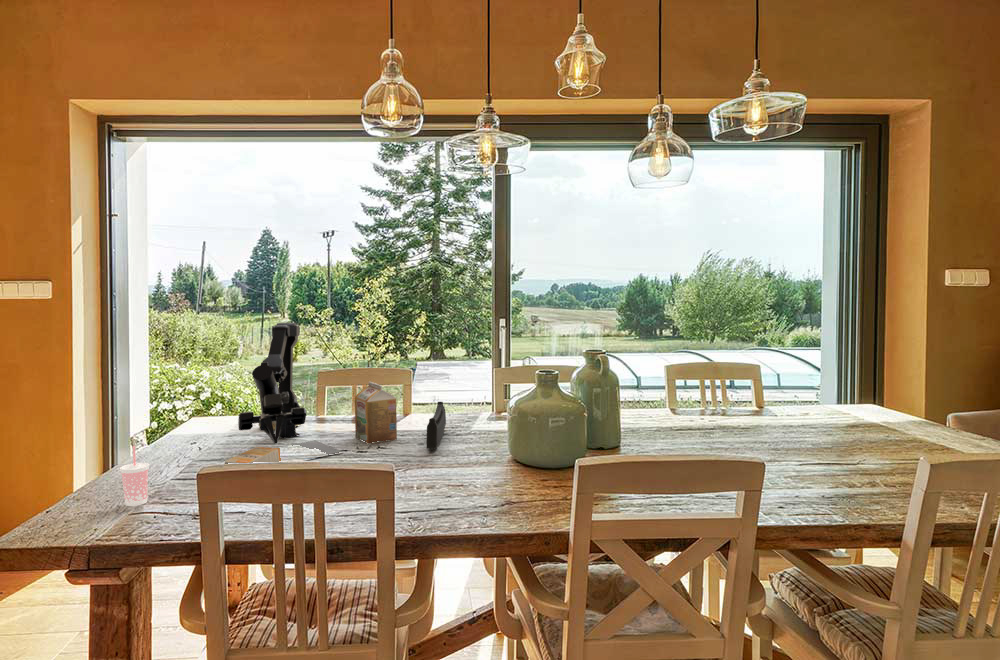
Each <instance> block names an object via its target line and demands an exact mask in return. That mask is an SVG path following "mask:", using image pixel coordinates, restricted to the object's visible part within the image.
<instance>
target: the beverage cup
mask: <svg viewBox="0 0 1000 660" xmlns="http://www.w3.org/2000/svg"><path fill="white" fill-rule="evenodd" d="M136 458H137V457H136V445H132V459H133V461H132V462H133V463H132V462H131V463H128V464H127V463H126V464H125V465H122V466H120V467H119V471H120V472H119V473H121V480H122V489H123V497H124V505H125V506H127V507H136V506H141V505H143V504H146V503H147V502H148V491H149V489H148V488H149V486H148V485H149V484H148V483H149V469H150V463H148V462H137V461H136Z"/></svg>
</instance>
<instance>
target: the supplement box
mask: <svg viewBox="0 0 1000 660" xmlns="http://www.w3.org/2000/svg"><path fill="white" fill-rule="evenodd" d="M279 461H281V458H280V448H275V447H265V446H264V447H263V446H255V447H252V448H251V449H248V450H246V451H244V452H242V453H239V454H237V455H235V456H233V457H231V458H228V459H226V460H224V461H223V462H224V465H225V464H228V463H253V462H279Z"/></svg>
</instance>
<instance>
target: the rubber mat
mask: <svg viewBox="0 0 1000 660" xmlns="http://www.w3.org/2000/svg"><path fill="white" fill-rule="evenodd" d="M291 445H292V446H293V445H300V446H302V447H306V448H309V449H314V448H316V449H319V450H321V452H324V453H325V452H326V454H328V455H329V454H335V453H339V452H343V453H344V451H343V450H340V449H337V448H335V447H332V446H331V445H328V444H325V443H323V442H321V441H318V440H316V439H315V440H314V439H313V440H308V441H304V442H303V441H302V442H297V443H293V444H291Z"/></svg>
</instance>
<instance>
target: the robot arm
mask: <svg viewBox="0 0 1000 660" xmlns="http://www.w3.org/2000/svg"><path fill="white" fill-rule="evenodd" d="M300 328H301V327H300V326H299V325H297V323H296V322H277V323H276V325H271V337H272V338H271V343H270V347H269V351H268V355H267V357H266V358H265V359H263V360H262V362H261V363H260V365H257V366H256V367H255V368H254V369H253V370H252V373H251V375H252V379H253V380H254V384H255V386H256V388H257V389H258V394H259V395H258V396H259V401H260V411H261V413H260V414H259V415H254V411H243V412H239V414H238V420H237V423H238V425H237V426H238V430H239V431H248V430H249V431H250V430H252V428H253V427H254V425H253V424H258V425H259V424H260V427H259V430H260V432H261V431H262V432H264V433H265V434H266V435H267V436H268V437H269V438H270V440H271V441H272V442H273V444H274V445H275V444H278V441H279V438H280V437H281V438H280V439H285V438H284V437H288V438H292V437H291V436H294V437H298V436H297V435H299V436H300V435H301V434H300V433H298V432H296V431H297V430H296V429H297V427H296V425H300V426H302V425H305V423H306V418H307V410H306V408H305V407H303V406H302V407H301V405H300V404H299V401H298V396H297V395H296V394H295V391H294V390H293V367H294V366H293V365H294V364H293V363H294V362H293V361H294V347H295V346H296V345H297V343H298V341H299V337H300V333H301V329H300ZM274 421H276V426H275V430H274V429H273V426H272V422H274Z"/></svg>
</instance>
